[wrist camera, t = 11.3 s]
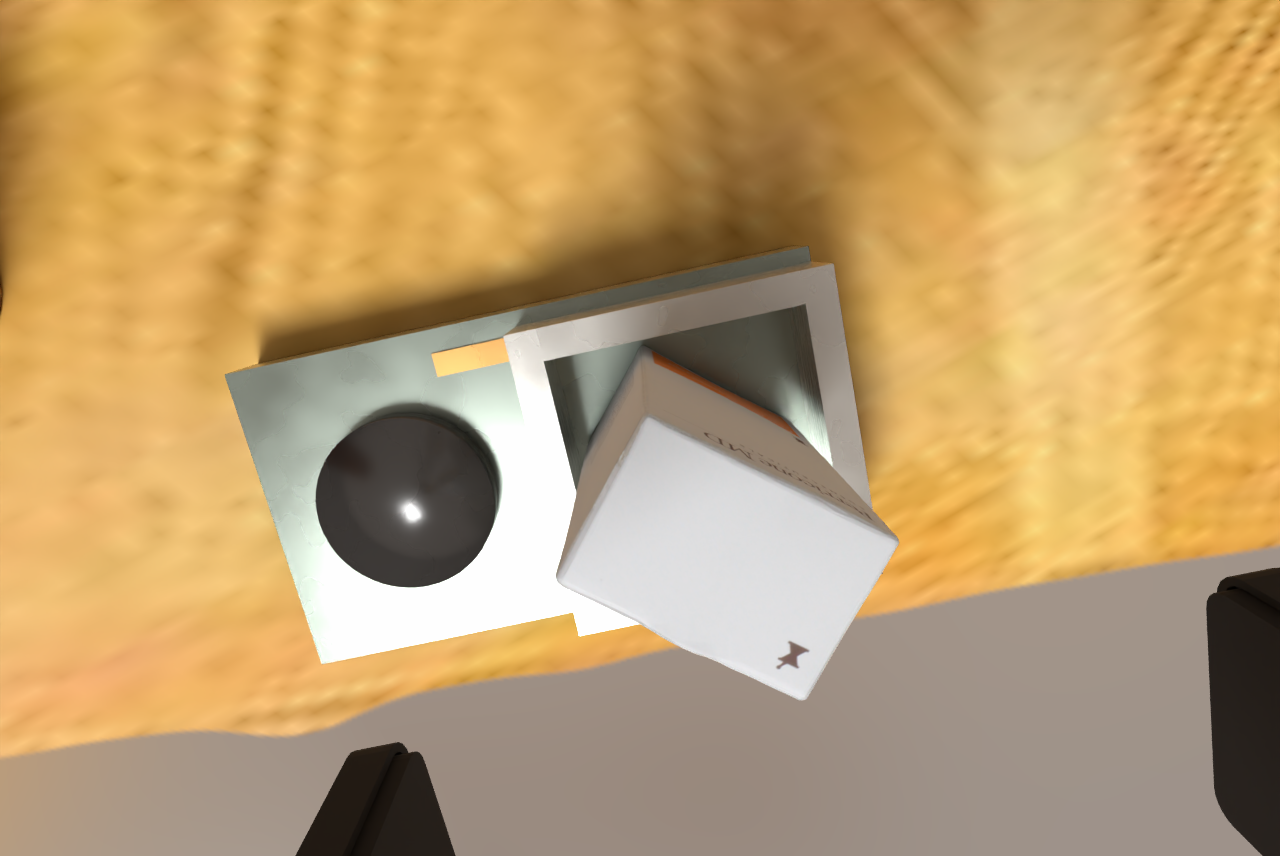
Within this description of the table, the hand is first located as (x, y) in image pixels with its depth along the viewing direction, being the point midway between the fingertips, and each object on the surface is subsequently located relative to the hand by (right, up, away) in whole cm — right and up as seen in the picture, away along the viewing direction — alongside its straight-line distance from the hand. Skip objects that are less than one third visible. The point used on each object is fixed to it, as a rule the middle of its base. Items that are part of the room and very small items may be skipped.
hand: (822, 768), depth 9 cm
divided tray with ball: (-5, +3, +21) cm, 22 cm away
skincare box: (0, +4, +19) cm, 19 cm away
